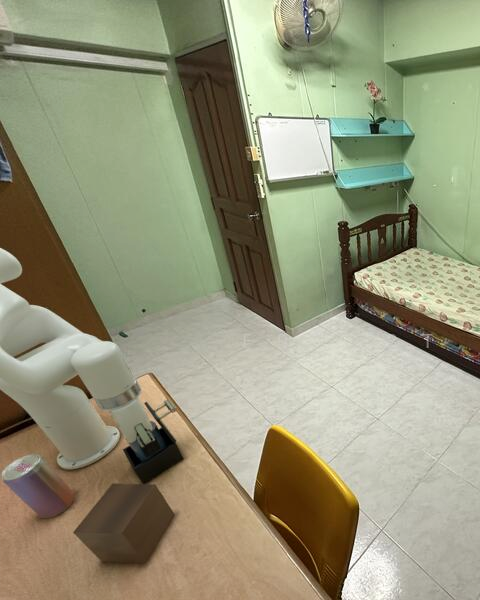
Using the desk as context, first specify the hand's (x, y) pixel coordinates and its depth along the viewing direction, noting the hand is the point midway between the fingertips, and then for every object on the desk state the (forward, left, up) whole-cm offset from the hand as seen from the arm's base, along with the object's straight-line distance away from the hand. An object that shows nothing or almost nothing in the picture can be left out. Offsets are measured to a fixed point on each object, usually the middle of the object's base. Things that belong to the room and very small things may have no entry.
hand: (148, 444), depth 78 cm
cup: (0, 0, -4) cm, 4 cm away
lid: (+1, +3, +4) cm, 6 cm away
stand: (+13, -13, -7) cm, 20 cm away
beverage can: (-11, -16, -7) cm, 21 cm away
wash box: (0, 0, -7) cm, 7 cm away
